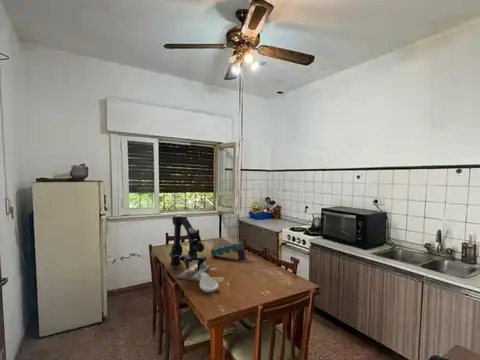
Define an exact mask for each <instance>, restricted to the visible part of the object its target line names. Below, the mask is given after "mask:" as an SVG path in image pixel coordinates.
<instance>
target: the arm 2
mask: <svg viewBox="0 0 480 360" xmlns="http://www.w3.org/2000/svg"><path fill="white" fill-rule="evenodd" d="M200 267H202V264H201V266H200ZM197 270H198V265H197V266H196V267H195V268H193V269H192V270H191V271H189V272H188V273H187V277H189V276H190V275H191V274H193V273H194V272H195V271H197Z"/></svg>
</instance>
